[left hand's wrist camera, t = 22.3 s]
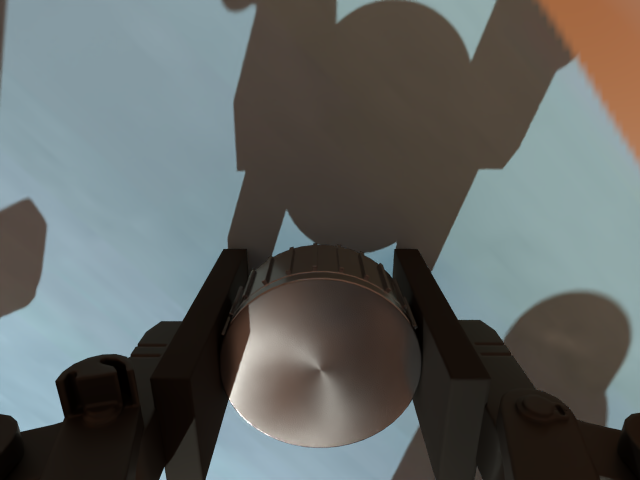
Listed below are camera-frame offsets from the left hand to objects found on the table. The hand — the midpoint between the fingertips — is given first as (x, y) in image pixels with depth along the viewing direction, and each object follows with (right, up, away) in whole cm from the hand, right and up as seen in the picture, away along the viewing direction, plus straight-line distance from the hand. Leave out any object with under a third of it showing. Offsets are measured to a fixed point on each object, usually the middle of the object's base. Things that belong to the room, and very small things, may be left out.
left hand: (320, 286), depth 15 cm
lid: (0, -1, -4) cm, 4 cm away
